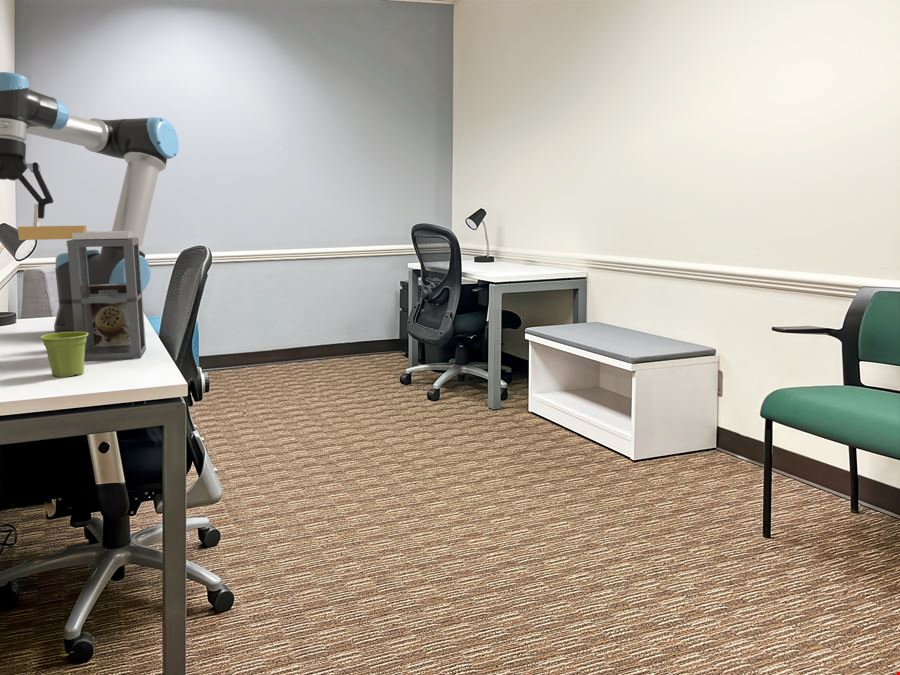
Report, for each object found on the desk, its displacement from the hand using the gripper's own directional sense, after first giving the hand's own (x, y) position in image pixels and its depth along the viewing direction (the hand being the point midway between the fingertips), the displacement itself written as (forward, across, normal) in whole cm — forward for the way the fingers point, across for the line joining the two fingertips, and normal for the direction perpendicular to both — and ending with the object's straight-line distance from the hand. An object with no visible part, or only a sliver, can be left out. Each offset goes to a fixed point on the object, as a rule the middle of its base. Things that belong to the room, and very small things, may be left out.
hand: (4, 229), depth 197 cm
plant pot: (+33, +19, -24) cm, 45 cm away
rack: (+29, +25, -3) cm, 38 cm away
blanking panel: (+1, +17, -6) cm, 18 cm away
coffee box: (+27, +24, +11) cm, 38 cm away
